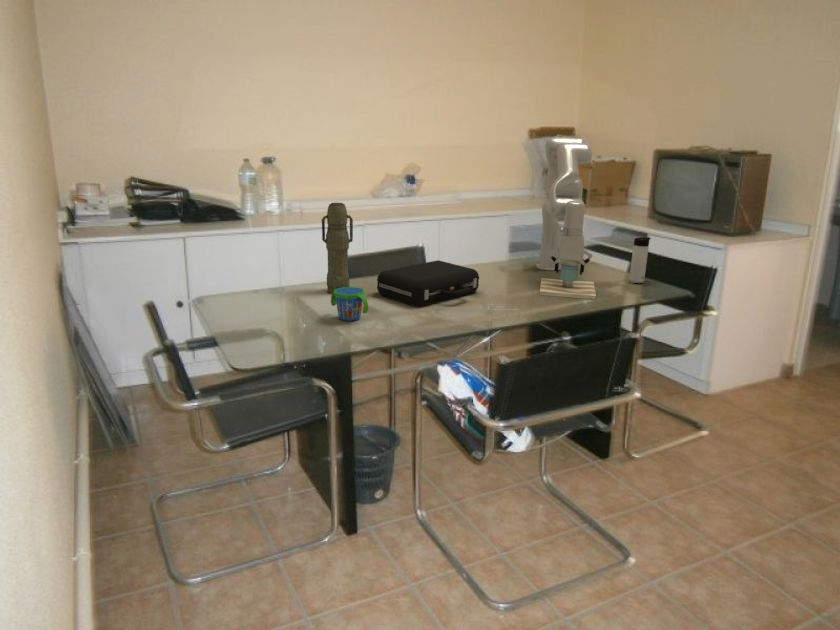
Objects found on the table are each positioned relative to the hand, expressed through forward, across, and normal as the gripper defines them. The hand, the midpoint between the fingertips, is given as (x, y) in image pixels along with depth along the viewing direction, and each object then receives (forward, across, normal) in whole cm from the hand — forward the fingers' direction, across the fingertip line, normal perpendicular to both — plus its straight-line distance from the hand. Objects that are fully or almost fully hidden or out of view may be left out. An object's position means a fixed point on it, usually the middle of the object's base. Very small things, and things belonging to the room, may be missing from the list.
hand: (568, 273), depth 270 cm
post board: (+7, 0, 0) cm, 7 cm away
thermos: (+7, -90, -29) cm, 95 cm away
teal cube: (+3, 0, 0) cm, 3 cm away
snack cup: (+8, -75, -61) cm, 97 cm away
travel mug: (+7, +30, +22) cm, 38 cm away
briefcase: (+8, -52, -23) cm, 58 cm away
